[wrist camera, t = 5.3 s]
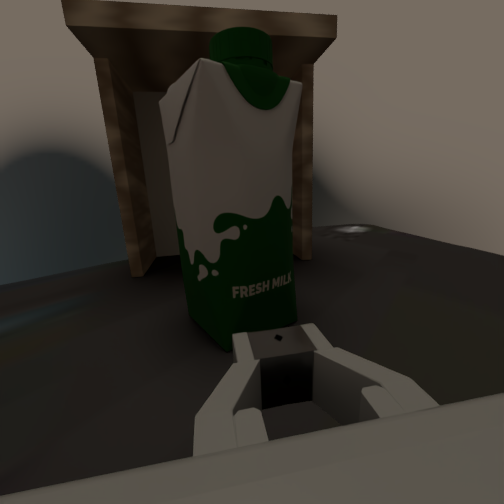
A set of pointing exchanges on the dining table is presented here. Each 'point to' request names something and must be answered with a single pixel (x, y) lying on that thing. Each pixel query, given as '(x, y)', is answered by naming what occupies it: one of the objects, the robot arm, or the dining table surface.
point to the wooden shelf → (155, 88)
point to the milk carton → (234, 185)
